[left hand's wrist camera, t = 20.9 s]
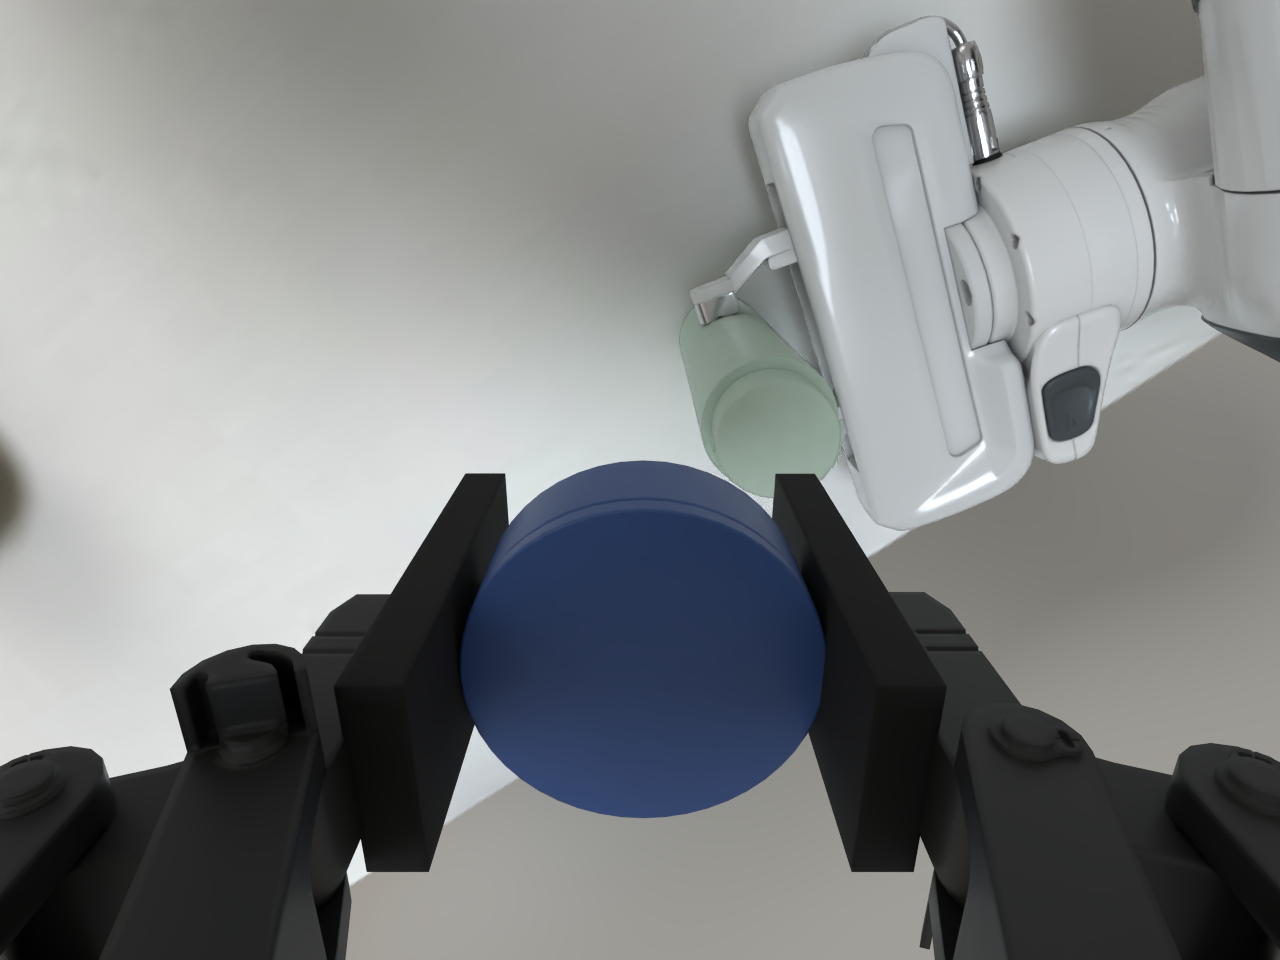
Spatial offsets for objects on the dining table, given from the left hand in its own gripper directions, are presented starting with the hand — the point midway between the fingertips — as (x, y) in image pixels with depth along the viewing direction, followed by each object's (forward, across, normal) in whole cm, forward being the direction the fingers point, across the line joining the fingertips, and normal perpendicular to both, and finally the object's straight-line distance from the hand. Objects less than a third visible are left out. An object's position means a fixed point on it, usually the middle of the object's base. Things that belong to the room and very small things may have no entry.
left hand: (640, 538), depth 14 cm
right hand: (+20, +4, -1) cm, 21 cm away
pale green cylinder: (+26, +4, -1) cm, 27 cm away
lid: (-4, 0, 0) cm, 4 cm away
